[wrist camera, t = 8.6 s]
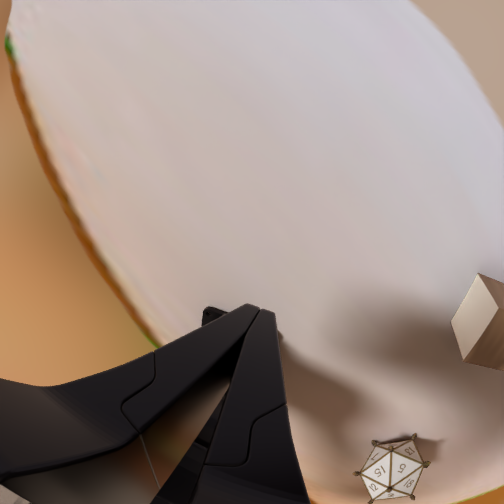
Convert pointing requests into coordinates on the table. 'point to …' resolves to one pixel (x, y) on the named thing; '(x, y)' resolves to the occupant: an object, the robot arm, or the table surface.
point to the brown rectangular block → (481, 323)
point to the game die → (392, 470)
